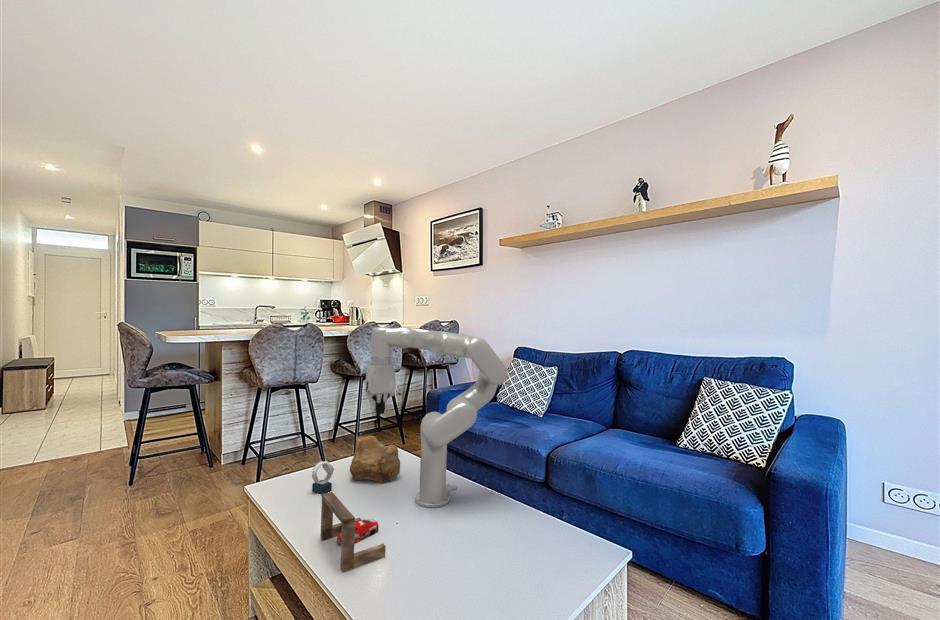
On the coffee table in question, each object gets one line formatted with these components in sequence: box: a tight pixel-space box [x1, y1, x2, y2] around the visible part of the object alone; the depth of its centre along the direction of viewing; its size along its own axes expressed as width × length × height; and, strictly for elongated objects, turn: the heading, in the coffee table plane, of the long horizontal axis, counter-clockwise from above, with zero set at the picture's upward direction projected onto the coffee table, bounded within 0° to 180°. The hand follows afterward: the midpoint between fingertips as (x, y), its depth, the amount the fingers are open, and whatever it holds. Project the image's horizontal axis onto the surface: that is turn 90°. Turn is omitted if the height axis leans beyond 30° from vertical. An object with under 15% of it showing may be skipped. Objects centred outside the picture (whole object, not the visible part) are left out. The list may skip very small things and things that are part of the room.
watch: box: [311, 460, 335, 496], centre depth 151 cm, size 6×8×11 cm
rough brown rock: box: [349, 435, 401, 483], centre depth 165 cm, size 23×17×15 cm
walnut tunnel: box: [319, 491, 387, 573], centre depth 115 cm, size 12×19×13 cm, turn 37°
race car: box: [336, 518, 380, 546], centre depth 120 cm, size 13×5×4 cm, turn 139°
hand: (380, 413), depth 142 cm, fingers closed
